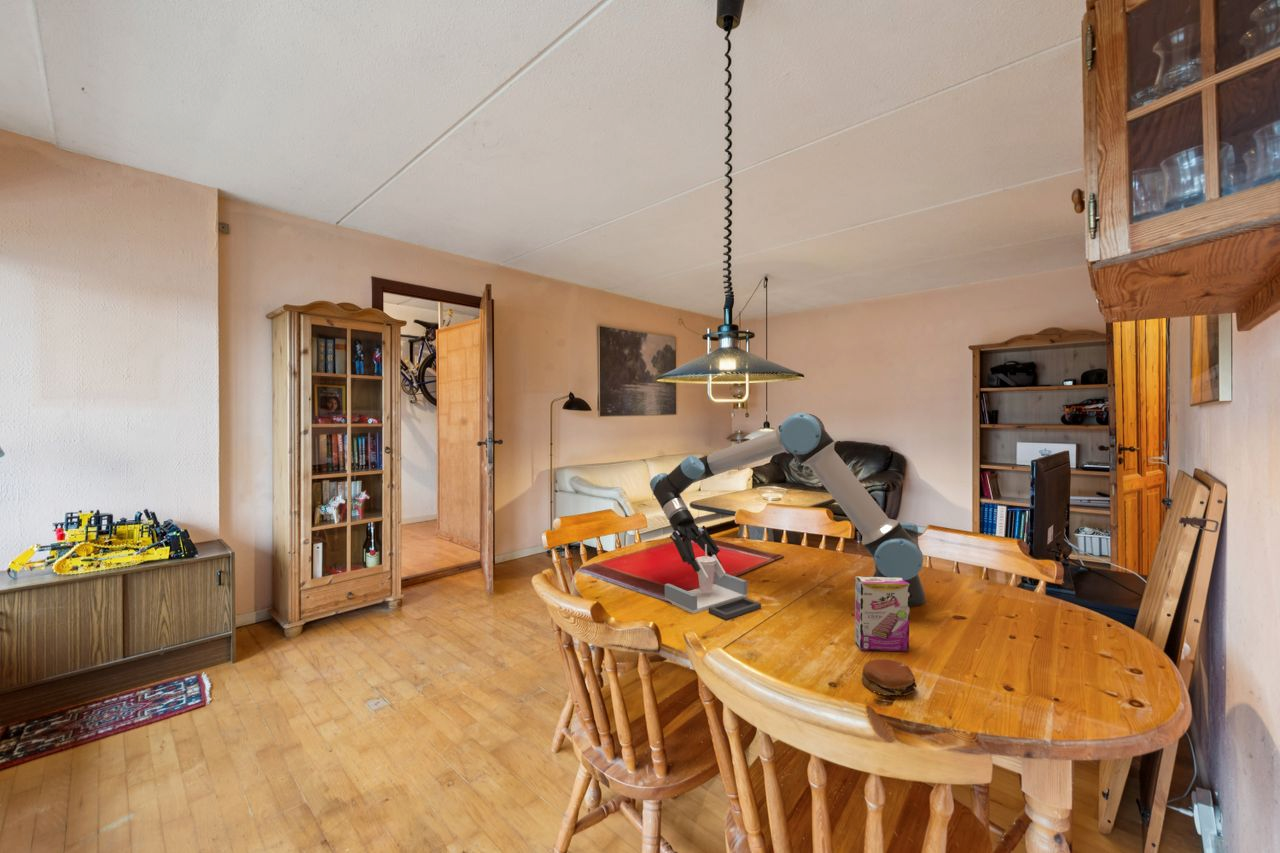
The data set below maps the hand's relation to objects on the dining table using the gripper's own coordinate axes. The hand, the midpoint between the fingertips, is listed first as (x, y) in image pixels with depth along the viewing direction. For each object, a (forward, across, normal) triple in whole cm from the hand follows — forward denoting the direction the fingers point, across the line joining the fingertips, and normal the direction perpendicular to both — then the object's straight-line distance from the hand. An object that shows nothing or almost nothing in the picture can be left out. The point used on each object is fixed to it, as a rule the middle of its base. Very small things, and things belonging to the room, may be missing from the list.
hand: (714, 577), depth 152 cm
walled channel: (+3, 0, -8) cm, 8 cm away
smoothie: (+1, 0, -6) cm, 6 cm away
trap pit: (+11, 0, +1) cm, 11 cm away
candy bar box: (+38, -11, +27) cm, 48 cm away
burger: (+45, +5, +34) cm, 57 cm away
